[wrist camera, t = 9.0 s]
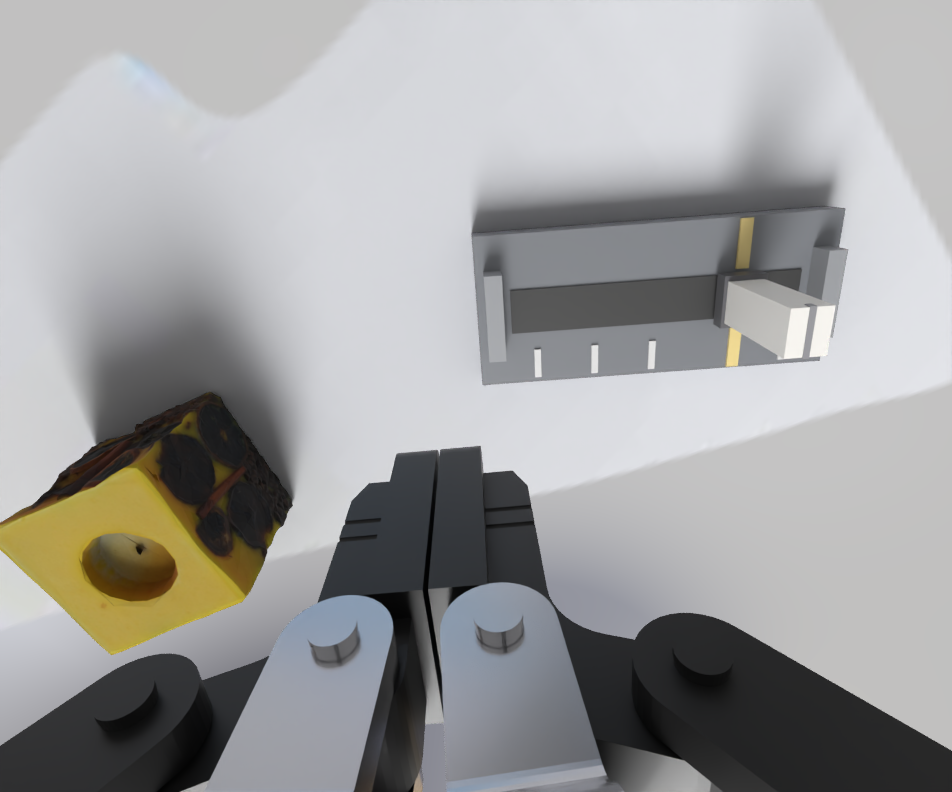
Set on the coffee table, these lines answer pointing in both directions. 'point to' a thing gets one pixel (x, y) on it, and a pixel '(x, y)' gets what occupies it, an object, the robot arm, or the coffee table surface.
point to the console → (640, 291)
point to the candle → (153, 526)
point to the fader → (773, 314)
